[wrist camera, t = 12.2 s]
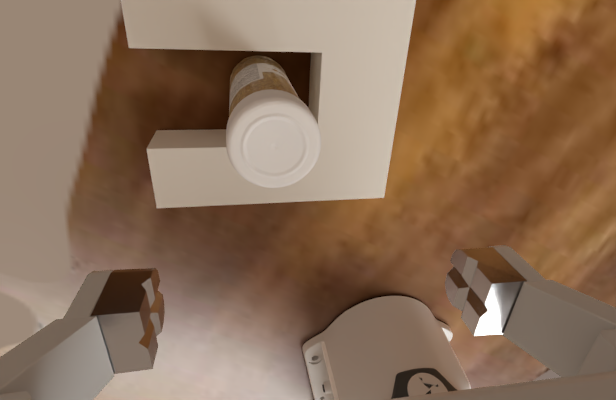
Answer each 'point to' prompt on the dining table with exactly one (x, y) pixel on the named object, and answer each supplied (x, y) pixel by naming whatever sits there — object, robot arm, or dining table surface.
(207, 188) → the slotted plate
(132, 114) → the dining table surface
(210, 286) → the dining table surface
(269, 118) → the sprinkles bottle
